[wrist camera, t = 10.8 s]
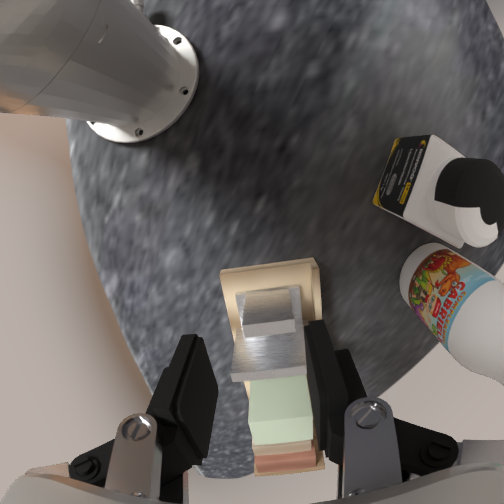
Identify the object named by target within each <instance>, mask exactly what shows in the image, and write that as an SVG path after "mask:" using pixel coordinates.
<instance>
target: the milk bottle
mask: <svg viewBox="0 0 504 504" xmlns="http://www.w3.org/2000/svg"><path fill="white" fill-rule="evenodd" d="M399 284H400V292H401V295H402V297H403V299H404V300H405V302H406V303H407V304H408V305H409V306H410V308H411V309H412V310H413V311H414V312H415V313H416V314H417V316H418V317H419V318H420V319H421V320H422V321H423V323H424V324H425V325H426V326H427V327H428V328H429V330H430V331H431V332H432V333H433V334H434V335H435V337H436V338H437V339H438V340H439V341H440V343H441V344H442V345H443V346H444V347H445V348H446V350H447V351H448V352H449V353H450V354H451V355H452V356H453V357H454V358H455V360H457V361H458V362H459V363H460V364H461V365H462V366H464V367H465V368H467V369H469V370H470V371H473V372H475V373H478V374H481V375H484V376H487V377H490V378H492V379H494V380H496V381H498V382H500V383H501V384H502V385H504V283H502V282H501V281H500V280H499V279H497V278H496V277H494V276H493V275H492V274H490V273H489V272H487V271H485V270H484V269H482V268H481V267H479V266H478V265H476V264H475V263H473V262H471V261H470V260H468V259H467V258H465V257H463V256H462V255H460V254H458V253H456V252H455V251H453V250H451V249H450V248H448V247H446V246H444V245H442V244H439V243H428V244H425V245H422V246H420V247H418V248H417V249H416V250H415V251H413V252H412V253H411V254H410V256H409V257H408V258H407V260H406V261H405V263H404V265H403V267H402V270H401V273H400V279H399Z"/></svg>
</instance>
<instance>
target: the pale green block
mask: <svg viewBox="0 0 504 504" xmlns="http://www.w3.org/2000/svg"><path fill="white" fill-rule="evenodd" d="M248 423H249V426H250V430H251V433H252V437H253V440H254V443H255V445H264V444H276V443H286V442H295V441H303V440H310V439H313V414H312V408H311V402H310V397H309V391H308V385H307V379H306V374H304V375H297V376H290V377H282V378H273V379H264V380H253V381H250V399H249V417H248Z"/></svg>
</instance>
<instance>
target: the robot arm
mask: <svg viewBox="0 0 504 504" xmlns="http://www.w3.org/2000/svg"><path fill="white" fill-rule="evenodd" d="M143 7H144V3H143V0H0V112H1V113H13V114H28V115H40V116H50V117H60V118H67V119H75V120H82V121H86V122H87V123H88V125H89V126H90V128H91V129H92V130H93V131H94V132H95V133H96V134H97V135H99V136H101V137H103V138H104V139H106V140H110V141H113V142H119V143H136V142H140V141H144V140H148V139H150V138H152V137H155V136H157V135H159V134H160V133H162V132H163V131H165V130H167V129H168V128H169V127H170V126H172V125H173V124H174V123H175V122H176V121H177V120H178V119H179V118H180V117H181V115H182V114H183V113H184V112H185V111H186V109H187V108H188V106H189V104H190V102H191V101H192V99H193V97H194V94H195V91H196V89H197V86H198V80H199V62H198V58H197V54H196V52H195V50H194V48H193V46H192V45H191V43H190V42H189V41H188V39H187V38H186V37H185V36H184V35H182V34H181V33H180V32H179V31H177V30H175V29H172V28H170V27H167V26H163V25H153V24H152V23H151V22H150V21H149V20H148V19H147V16H146V15H145V14H143ZM180 42H181V43H180ZM178 43H180V44H178ZM185 91H188V93H187V94H186V95H184V92H185ZM142 130H143V134H142V135H141V131H142ZM304 340H305V354H306V368H307V381H308V388H309V393H310V399H311V405H312V411H313V417H314V423H315V429H316V435H317V442H318V448H319V451H323V450H325V455H326V457H329V460H330V461H332V462H334V463H336V464H338V480H337V497H336V500H331V501H325V502H319V503H312V504H504V440H463V442H456V441H455V440H454V439H453V438H452V437H451V436H448V435H446V434H443V433H439V432H436V431H433V430H429V429H426V428H423V427H420V426H417V425H414V424H411V423H408V422H405V421H402V420H399V419H397V418H394V417H393V413H392V409H391V407H390V405H388V403H387V402H385V401H384V400H382V399H380V398H375V397H367V395H366V392H365V390H364V387H363V385H362V382H361V379H360V377H359V374H358V372H357V369H356V367H355V364H354V362H353V359H352V357H351V354H350V352H349V350H348V349H343V350H338V351H334V349H333V346H332V343H331V340H330V338H329V335H328V332H327V329H326V326H325V323H324V321H323V319H321V320H314V321H309V325H307V326H304ZM217 397H218V385H217V382H216V379H215V376H214V373H213V370H212V366H211V363H210V360H209V357H208V354H207V350H206V347H205V344H204V340H203V338H202V337H198V335H197V334H188V335H182V336H181V339H180V341H179V343H178V346H177V348H176V351H175V353H174V355H173V358H172V360H171V363H170V365H169V367H166V368H165V369H164V370H163V373H162V375H161V377H160V380H159V382H158V384H157V387H156V389H155V392H154V394H153V396H152V399H151V401H150V404H149V406H148V409H147V411H146V414H143V413H138V414H133V415H130V416H128V417H127V418H125V419H124V420H123V421H122V422H121V423H120V424H119V427H118V429H117V433H116V437H115V439H113V440H111V441H109V442H107V443H105V444H103V445H101V446H99V447H97V448H94V449H92V450H90V451H88V452H86V453H84V454H81V455H79V456H78V457H76V458H75V459H74V460H73V461H72V463H71V465H70V464H69V463H68V462H66V463H61V464H56V465H51V466H45V467H38V468H33V469H30V470H29V471H27V472H26V473H25V475H22V476H20V477H19V478H17V479H16V480H15V481H14V482H13V483H12V484H11V486H10V487H9V489H8V490H7V492H6V493H5V495H4V496H3V498H2V500H1V502H0V504H189V498H188V497H189V496H188V469H190V468H192V465H202V459H203V458H207V455H208V450H209V444H210V438H211V432H212V426H213V420H214V415H215V409H216V403H217Z"/></svg>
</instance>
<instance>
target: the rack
mask: <svg viewBox="0 0 504 504" xmlns="http://www.w3.org/2000/svg"><path fill="white" fill-rule="evenodd" d="M219 275H220V280H221V284H222V289H223V294H224V298H225V303H226V307H227V312H228V316H229V320H230V325H231V329H232V334H233V338H234V342H235V338H236V331H237V328H242V326H241V322H240V317H239V312H238V307H237V302H236V297H235V293H237V292H245V291H253V290H261V289H268V288H276V287H283V286H290V285H297V284H299V290H300V300H301V311H302V320H305V319H308V322H309V321H314V320H321V319H322V307H321V290H320V275H319V268H318V266H317V264H316V262H315V260H314V258H313V257H312V258H305V259H298V260H290V261H283V262H276V263H269V264H262V265H254V266H247V267H239V268H232V269H224V270H221V272H220V274H219ZM306 379H307V374H306ZM244 383H245V387H246V391H247V395H248V399H250V381H244ZM307 385H308V381H307ZM308 391H309V388H308ZM309 397H310V393H309ZM310 402H311V399H310ZM311 408H312V405H311ZM312 414H313V411H312ZM252 449H253V452H254V455H255V464H254V474H255V476H268V475H282V474H292V473H301V472H308V471H315V470H322V469H325V463H324V457H323V451H319V448H318V442H317V435H316V429H315V423H314V417H313V439H310V440H303V441H295V442H286V443H276V444H264V445H255V443H254V440H253V438H252Z"/></svg>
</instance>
